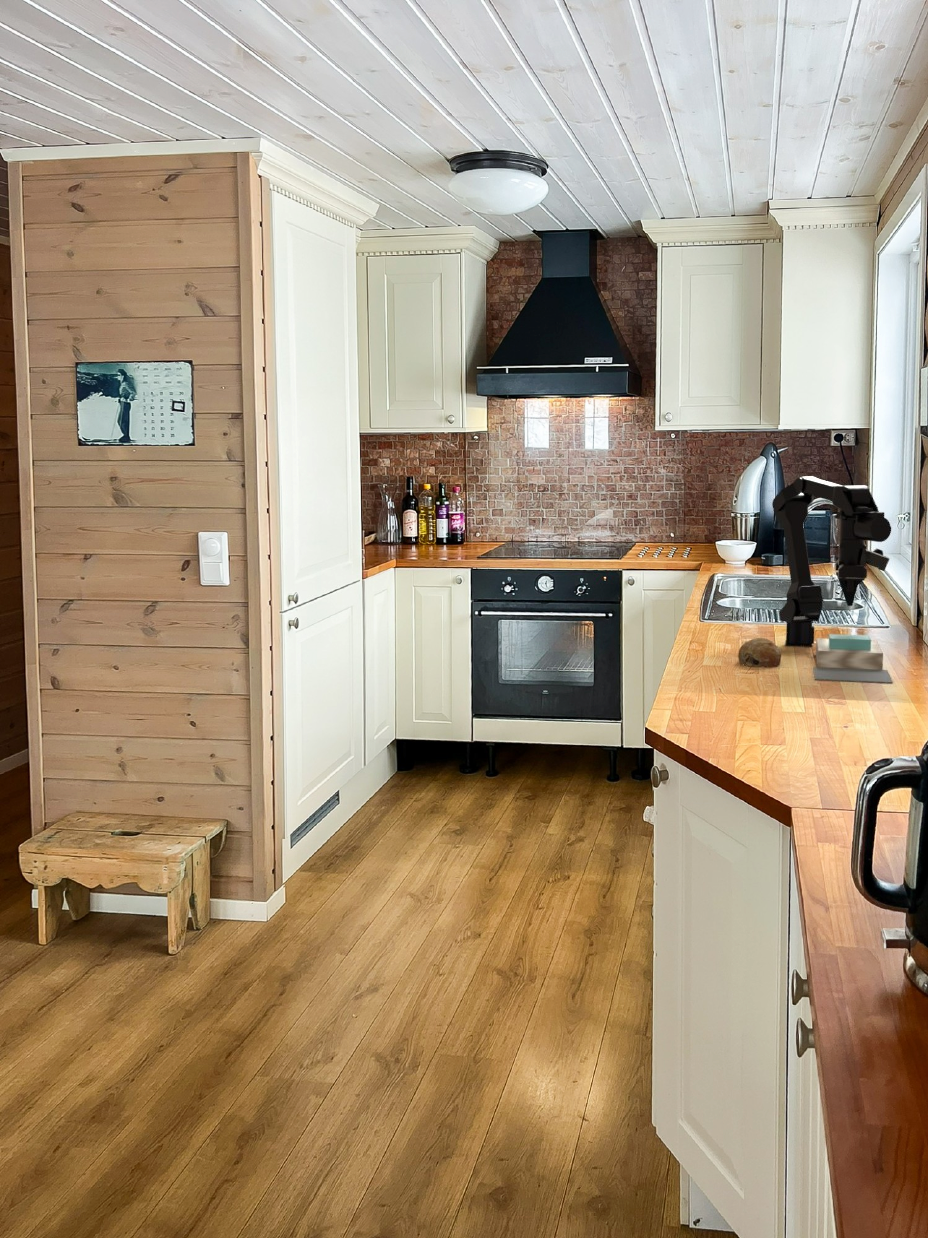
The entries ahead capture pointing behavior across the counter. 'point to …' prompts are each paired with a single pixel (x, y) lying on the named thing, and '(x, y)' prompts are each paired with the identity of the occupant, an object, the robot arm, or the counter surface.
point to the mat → (852, 675)
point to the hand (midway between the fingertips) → (849, 604)
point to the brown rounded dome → (759, 653)
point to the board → (849, 656)
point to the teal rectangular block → (849, 642)
